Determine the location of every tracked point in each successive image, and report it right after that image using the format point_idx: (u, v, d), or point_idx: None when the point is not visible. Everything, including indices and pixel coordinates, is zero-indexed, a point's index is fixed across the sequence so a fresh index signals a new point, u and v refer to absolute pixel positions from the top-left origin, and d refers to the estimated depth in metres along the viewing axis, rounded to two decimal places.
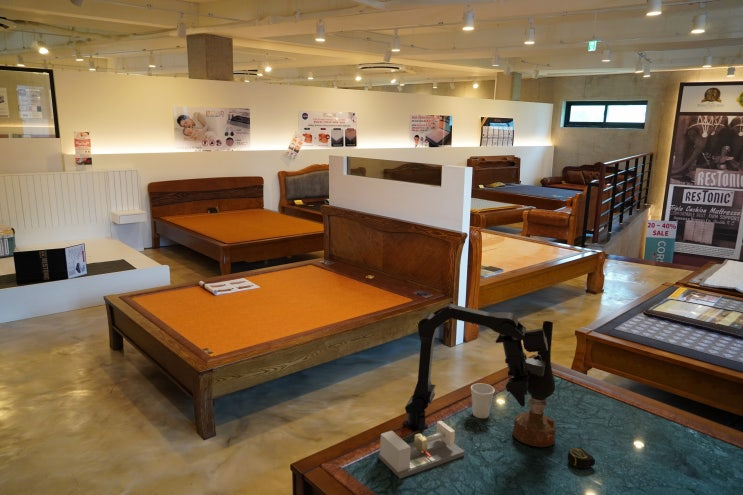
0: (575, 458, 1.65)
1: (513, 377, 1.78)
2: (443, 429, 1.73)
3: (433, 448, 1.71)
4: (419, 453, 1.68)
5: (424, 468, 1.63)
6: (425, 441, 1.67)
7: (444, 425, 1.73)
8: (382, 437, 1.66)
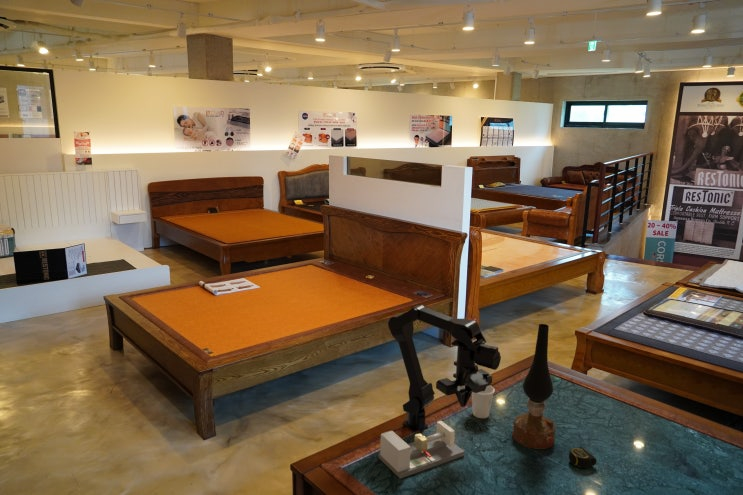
0: (577, 457, 1.66)
1: None
2: (443, 429, 1.73)
3: (433, 448, 1.71)
4: (419, 453, 1.68)
5: (424, 468, 1.63)
6: (425, 441, 1.67)
7: (444, 425, 1.73)
8: (382, 437, 1.66)
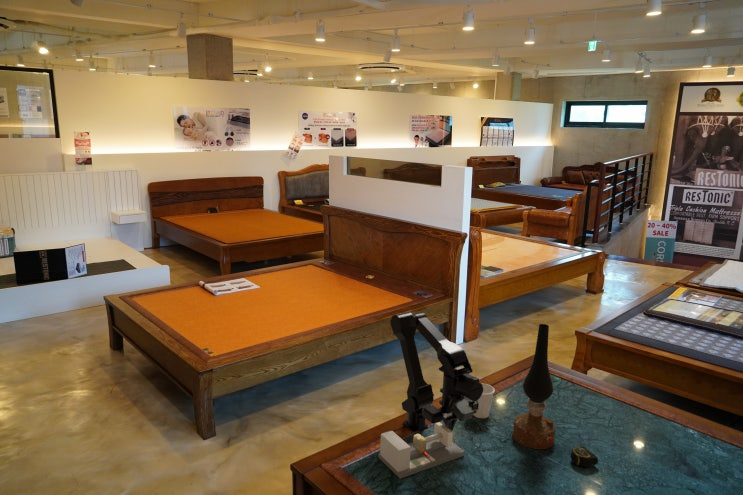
0: (578, 457, 1.66)
1: None
2: (440, 429, 1.72)
3: (433, 448, 1.71)
4: (419, 453, 1.68)
5: (424, 468, 1.63)
6: (424, 441, 1.66)
7: (442, 426, 1.73)
8: (382, 437, 1.66)
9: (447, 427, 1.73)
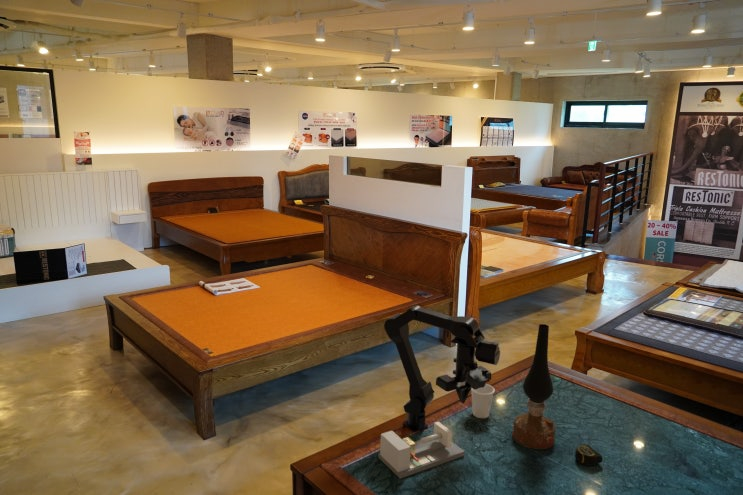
0: (583, 455, 1.67)
1: None
2: (440, 429, 1.72)
3: (433, 448, 1.71)
4: (419, 453, 1.68)
5: (424, 468, 1.63)
6: (413, 445, 1.64)
7: (441, 426, 1.73)
8: (382, 437, 1.66)
9: (460, 396, 1.76)
